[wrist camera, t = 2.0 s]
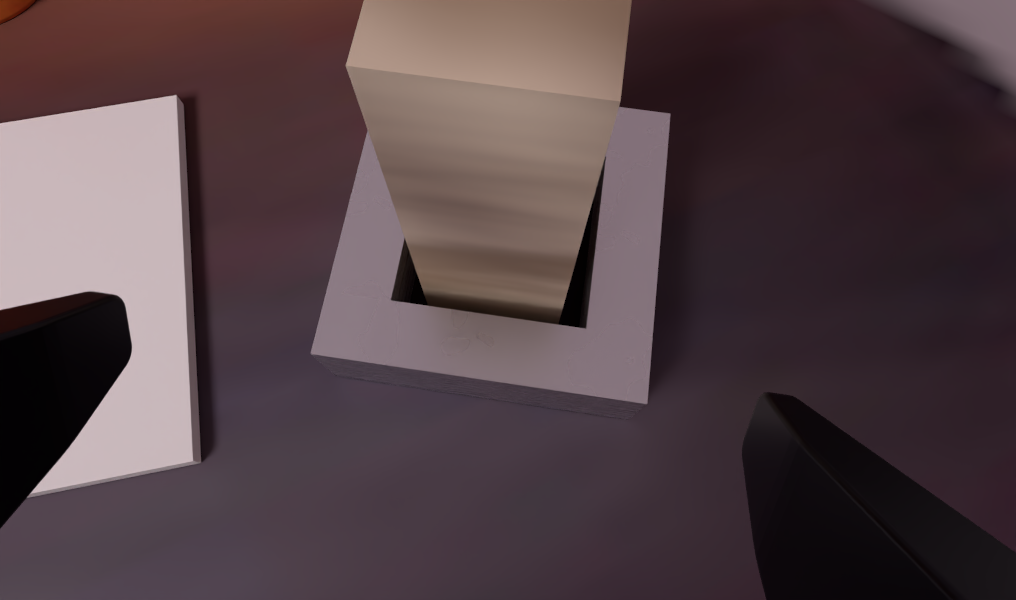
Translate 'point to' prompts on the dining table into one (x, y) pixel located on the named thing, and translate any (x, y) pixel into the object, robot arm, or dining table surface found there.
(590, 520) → the dining table surface
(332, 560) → the dining table surface
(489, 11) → the wooden peg
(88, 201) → the tile
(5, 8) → the paper cup
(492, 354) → the socket
